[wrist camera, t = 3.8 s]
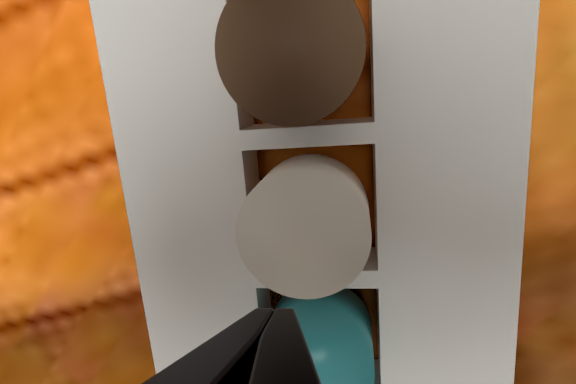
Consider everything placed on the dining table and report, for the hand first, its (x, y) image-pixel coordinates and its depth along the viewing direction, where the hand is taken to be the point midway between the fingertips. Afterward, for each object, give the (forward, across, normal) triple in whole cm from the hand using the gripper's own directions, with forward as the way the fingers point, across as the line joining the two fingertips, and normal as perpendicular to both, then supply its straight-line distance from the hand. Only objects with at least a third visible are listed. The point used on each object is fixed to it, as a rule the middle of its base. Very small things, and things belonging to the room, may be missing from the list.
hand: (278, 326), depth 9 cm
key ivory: (+8, 0, 0) cm, 8 cm away
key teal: (+9, 0, +6) cm, 11 cm away
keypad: (+10, 0, 0) cm, 11 cm away
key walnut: (+8, 0, -6) cm, 10 cm away
